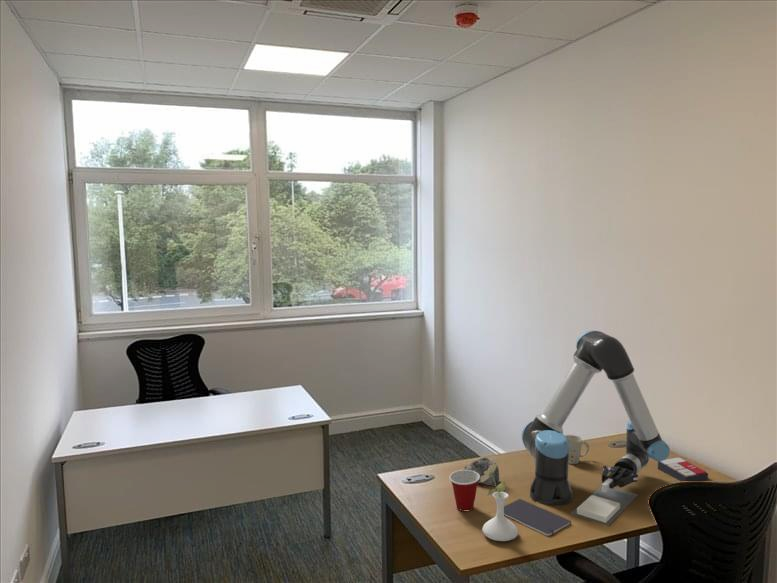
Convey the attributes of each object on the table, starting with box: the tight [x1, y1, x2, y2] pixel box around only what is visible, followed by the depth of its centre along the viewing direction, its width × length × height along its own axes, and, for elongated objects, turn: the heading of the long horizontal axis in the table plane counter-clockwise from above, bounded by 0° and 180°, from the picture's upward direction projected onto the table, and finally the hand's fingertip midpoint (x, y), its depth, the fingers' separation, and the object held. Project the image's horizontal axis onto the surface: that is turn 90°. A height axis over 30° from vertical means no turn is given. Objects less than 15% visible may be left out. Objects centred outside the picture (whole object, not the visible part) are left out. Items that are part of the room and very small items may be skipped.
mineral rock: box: [463, 457, 500, 486], centre depth 229 cm, size 13×11×10 cm
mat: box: [570, 485, 638, 527], centre depth 209 cm, size 13×29×1 cm, turn 139°
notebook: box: [504, 498, 572, 537], centre depth 200 cm, size 13×2×21 cm
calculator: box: [657, 457, 709, 482], centre depth 234 cm, size 11×4×15 cm
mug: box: [565, 434, 590, 465], centre depth 248 cm, size 8×13×10 cm, turn 107°
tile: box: [576, 494, 620, 523], centre depth 203 cm, size 10×2×13 cm
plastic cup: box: [448, 469, 480, 511], centre depth 207 cm, size 11×11×12 cm
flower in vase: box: [480, 461, 519, 542], centre depth 188 cm, size 13×11×25 cm
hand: (603, 488), depth 205 cm, fingers closed
